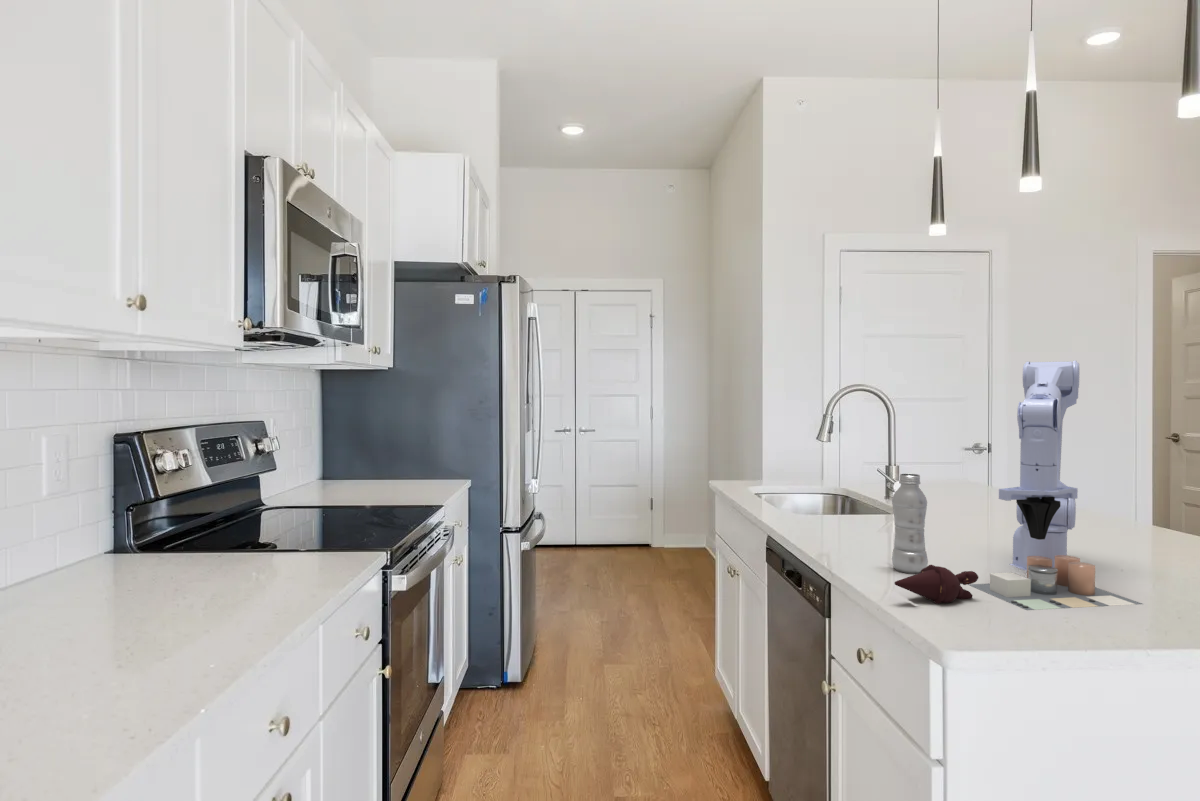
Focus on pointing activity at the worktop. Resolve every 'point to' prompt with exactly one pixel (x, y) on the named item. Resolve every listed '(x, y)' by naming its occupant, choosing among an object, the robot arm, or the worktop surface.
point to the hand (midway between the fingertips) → (1037, 538)
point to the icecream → (939, 584)
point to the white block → (1010, 584)
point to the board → (1061, 599)
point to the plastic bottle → (909, 526)
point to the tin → (1043, 579)
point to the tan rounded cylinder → (1081, 578)
